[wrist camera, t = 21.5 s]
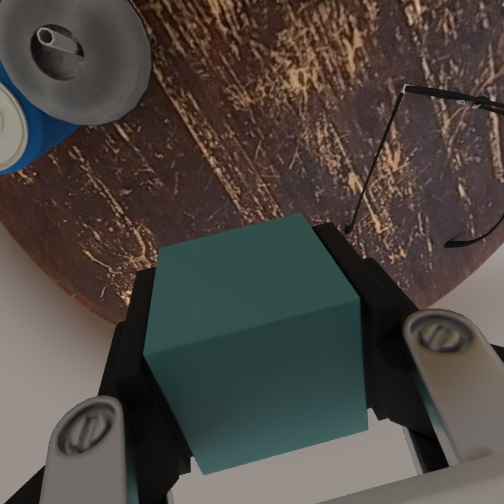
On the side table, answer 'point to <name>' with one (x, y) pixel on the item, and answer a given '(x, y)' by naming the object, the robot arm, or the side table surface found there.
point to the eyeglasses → (448, 95)
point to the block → (256, 343)
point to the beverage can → (25, 128)
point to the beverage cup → (77, 57)
